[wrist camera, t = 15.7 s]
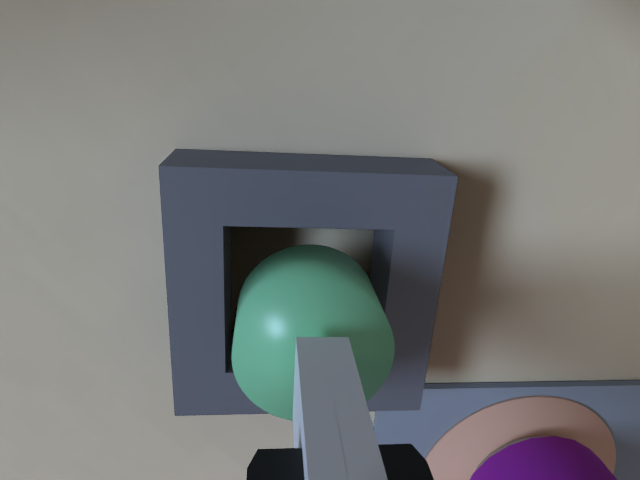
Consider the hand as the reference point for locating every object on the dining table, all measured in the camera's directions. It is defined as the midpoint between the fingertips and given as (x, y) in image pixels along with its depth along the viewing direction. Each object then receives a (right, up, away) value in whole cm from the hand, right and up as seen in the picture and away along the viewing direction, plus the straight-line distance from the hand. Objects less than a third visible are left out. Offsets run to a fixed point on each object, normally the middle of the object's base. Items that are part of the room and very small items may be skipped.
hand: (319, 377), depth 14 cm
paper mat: (+10, -9, +12) cm, 18 cm away
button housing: (-1, +3, +7) cm, 7 cm away
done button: (0, +2, +4) cm, 4 cm away
